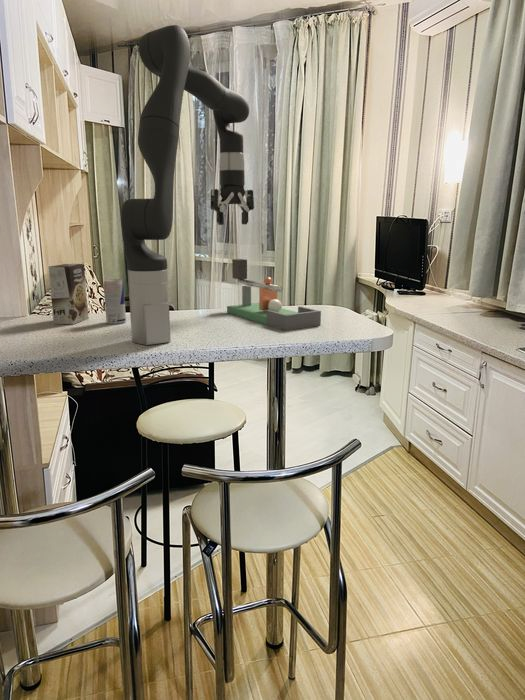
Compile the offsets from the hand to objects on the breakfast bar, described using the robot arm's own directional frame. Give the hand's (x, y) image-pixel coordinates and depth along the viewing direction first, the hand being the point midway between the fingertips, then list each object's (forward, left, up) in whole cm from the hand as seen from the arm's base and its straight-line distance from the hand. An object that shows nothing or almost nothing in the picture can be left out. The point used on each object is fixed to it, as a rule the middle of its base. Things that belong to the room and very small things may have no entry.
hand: (232, 224), depth 162 cm
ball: (-21, -1, -23) cm, 31 cm away
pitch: (-19, -1, -27) cm, 33 cm away
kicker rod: (-11, -1, -24) cm, 27 cm away
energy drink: (+1, +39, -27) cm, 47 cm away
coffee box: (+10, +49, -27) cm, 56 cm away
